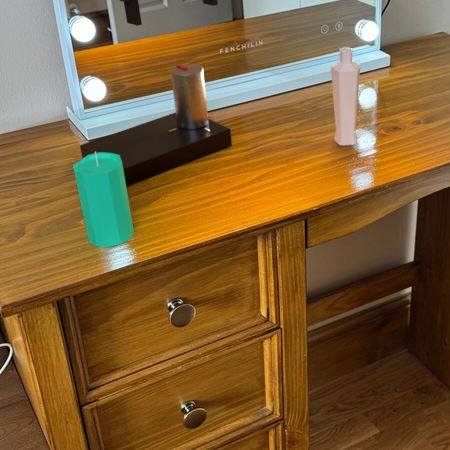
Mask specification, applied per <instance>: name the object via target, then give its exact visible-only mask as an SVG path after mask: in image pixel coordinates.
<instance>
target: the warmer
mask: <svg viewBox="0 0 450 450" xmlns="http://www.w3.org/2000/svg"><path fill="white" fill-rule="evenodd" d="M214 117H217V114H216V113H215V114H211V115H208V124H207V125H206V126H204V127H202V128H199V129H182V128H180V127H178V125H177V118H176V111H175V112H172V113H169V114H166V115H164V116H161V117H157V118H155V119H152V120H149V121H146V122H143V123H140V124H138V125H134V126H132V127H128V128H125V129H123V130H120V131H117V132H114V133H111V134H108V135H106V136H103V137H100V138H97V139H94V140H91V141H89V142H86V143H85V142H84V143H82V144H80V145H79V149H80V153H81V160H82V159H83V158H84V157H86V156H87V155H90V154H95V152H96V153H99V152H104V153H113V154H117V155H120V158H121V160H122V165H123V171H124V177H125V182H126V188H128V187H130V186H133V185H136V184H138V183H141V182H143V181H147V180H148V179H151V178H153V177H156V176H159V175H161V174H164V173H166V172H168V171H171V170H174V169H176V168H179V167H181V166H184V165H187V164H189V163H191V162H194V161H197V160H199V159H202V158H204V157H207V156H209V155H211V154H215V153H217V152H220V151H222V150H224V149H228V148H230V147H232V146H233V144H232V143H233V142H232V141H233V140H232V132H231V131H232V130H231V128H230V127H228V126H225V125H223V124H221V123H220V122H217V121H215V120H212V118H214Z"/></svg>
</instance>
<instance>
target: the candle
mask: <svg viewBox="0 0 450 450" xmlns="http://www.w3.org/2000/svg"><path fill="white" fill-rule="evenodd" d="M72 167H73V173H74V177H75V182H76V183H75V184H76V188H77V192H78V197H79V202H80V207H81V211H82V216H83V223H84V226H85V230H86V237H87V240H88V243H89V244H91V245H93V246H95V247H100V248H101V247H102V248H110V247H115V246H121V245H123V244H124V243H125V242H128V241H129V240H130V239H131V238H132V237H133V235H134V234H135V230H134V225H133V224H134V223H133V218H132V215H131V214H132V212H131V208H130V207H131V206H130V201H129V195H128V189H127V188H128V187H126V182H125V177H124V171H123V165H122V160H121V158H120V155H117V154H113V153H104V152H99V153H96V152H95V154H90V155H87V156H86V157H84V158H83V159H82V158H81V159H80V160H79V161H77V162H76V163H74V164H72Z"/></svg>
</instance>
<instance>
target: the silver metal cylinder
mask: <svg viewBox="0 0 450 450" xmlns="http://www.w3.org/2000/svg"><path fill="white" fill-rule="evenodd" d="M170 78H171V85H172V93H173V99H174V100H173V102H174V109H175V112H176V118H177V125H178V127H180V128H182V129H199V128H202V127H204V126H206V125H207V124H208V119H209V118H208V117H209V114H208V113H209V111H208V104H207V94H206V85H205V75H204V68H203V66H202V65H199V64H195V63H194V64H192V63H188V64H187V63H185V64H181V63H177V64H175V66H174V67H172V68H171V69H170Z"/></svg>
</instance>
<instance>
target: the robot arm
mask: <svg viewBox="0 0 450 450" xmlns="http://www.w3.org/2000/svg"><path fill="white" fill-rule="evenodd" d="M119 2H123V5H124V12H125V13H124V14H125V18H126V23H127V24H130V25H134V26H142V25H143V23H142V22H143V21H142V16H141V15H142V14H141V9H140V3H139V0H119ZM202 4H203V5H208V6H212V7H214V6H218V5H219V3H218V0H202Z"/></svg>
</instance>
